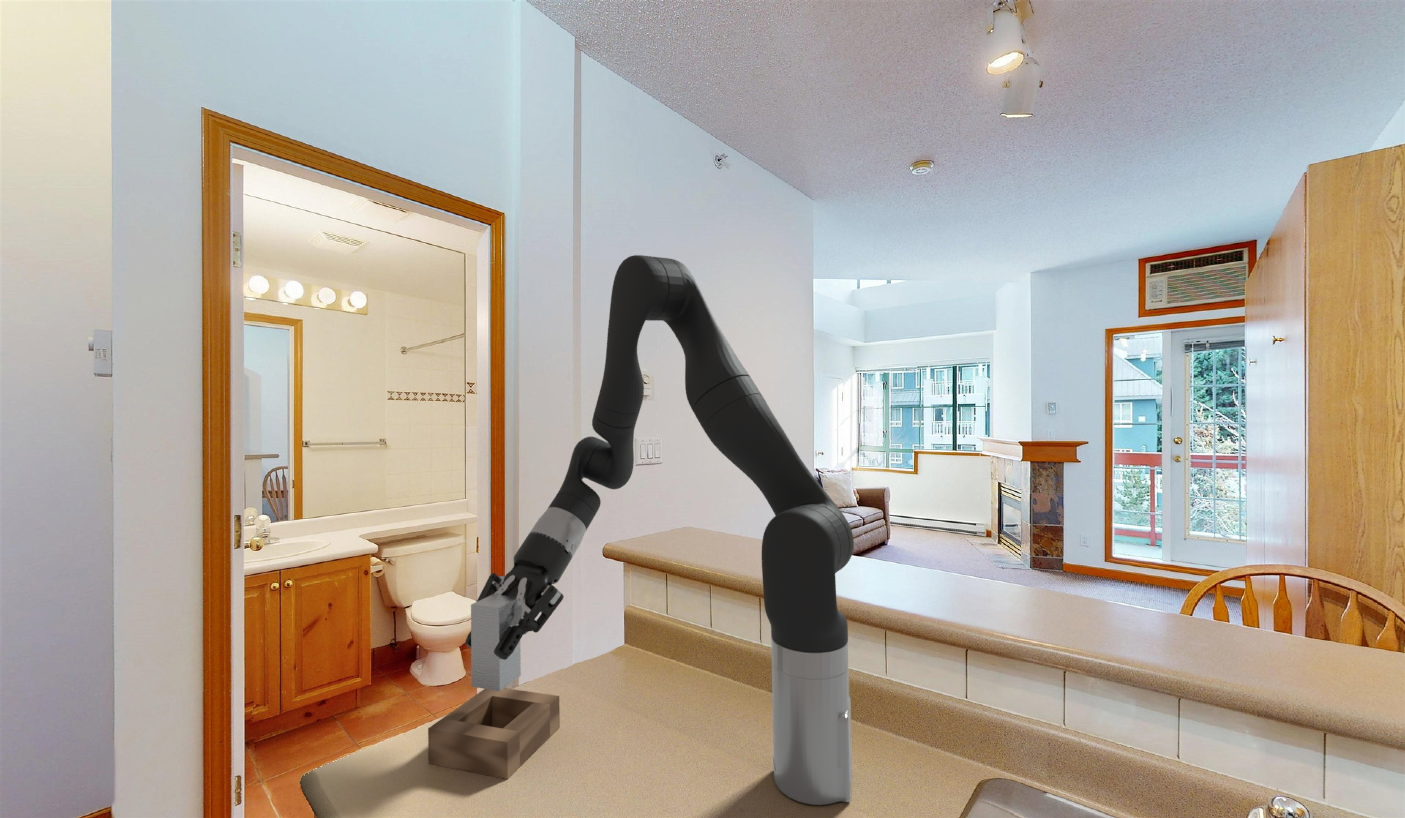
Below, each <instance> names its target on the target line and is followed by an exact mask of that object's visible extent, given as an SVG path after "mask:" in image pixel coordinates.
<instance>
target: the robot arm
mask: <svg viewBox="0 0 1405 818" xmlns="http://www.w3.org/2000/svg"><path fill="white" fill-rule="evenodd" d="M646 321H648V322H649V321H658V322H659V321H661V322H662V321H663V322H665V324H666V325H668V328H670V329H671V331H672V332H673V334H674V335H675V337H676V339H677V341H678V343H679V344H680V346H681V349H682V350H683V354H684V361H685V362H684V363H685V364H684V365H685V366H684V367H685V368H684V369H685V370H684V387H685V395H686V400H687V403H688V404H689V407H690V408H691V410H692V412H693V414H694V415H695V418H696V419H697V422H698V423H699V425H700V426H701V428H702V430H703V431H704V433H705V434H706V436H707V437H708V439H709V441H710V442H711V443H712V444H713V445H714V447H715V448H716V449H717V450H718V451H719V452H720V453H721V454H722V455H724V457H726V458H727V459H728V460H729V461H730V462H731V463H732V464H733V465H734V466H735V467H737V468H738V469H739V471H741V473H742V472H743V474H744V475H746V476H747V478H748V479H750V481H752V482H753V484H754V485H755V486H756V487H757V488H758V489H759V491H760V492H761V493H762V495H763V496H764V498H765V500H766V501H767V503H768V504H769V507H770V509H771V510H772V512H773V514H774V515H775V516H773V517H772V519H770V520H769V522H768V523H767V525H766V527H765V528H764V532H763V536H762V541H761V574H762V588H763V589H762V591H763V602H764V611H765V614H766V617H767V619H768V621H769V624H770V634H771V635H770V637H771V638H770V639H771V641H770V644H771V687H772V688H771V693H772V694H771V695H772V699H771V700H772V743H773V747H772V748H773V750H772V751H773V757H772V762H773V765H772V766H773V779H774V783H775V784H776V786H777V788H778V789H779V791H780V792H781V793H783V794H784V795H785V796H787V798H790V799H792V800H794V801H796V802H799V803H803V804H808V805H814V806H816V805H817V806H823V805H825V806H826V805H830V804H834V803H838V802H843V803H844V802H845V803H850V802H851V797H852V796H851V793H852V792H851V791H852V779H853V758H852V757H853V755H852V751H853V750H852V715H851V713H852V711H851V710H852V708H851V705H852V704H851V695H850V676H849V675H850V673H849V667H850V666H849V630H848V628H849V627H848V626H849V625H848V624H849V623H848V619H847V617H846V615H845V614H844V613H843V612H842V611H841V610H840V609H838V603H837V602H838V601H837V586H836V573H838V572H839V571H841V570H842V569H843V568H844V567H845V566H846V565H848V563H849V561H850V560H851V558H852V555H853V553H854V547H855V543H854V541H855V540H854V536H853V531H852V529H851V528H852V527H851V526H850V523H849V522H848V519H847V518H846V516H845V515H844V513H842V511H841V509H840V508H839V507H838V506H837V504H836V503H835V502H834V501H833V498H831V497H830V495H829V494H828V493H827V492H826V490H825V489H824V488H823V487H822V485H821V484H820V483H819V482H818V480H817V479H816V478H815V477H814V476H813V474H812V472H811V471H810V470H809V469H808V467H807V466H806V464H805V463H804V462H803V460H802V459H801V456H799V454H798V452H797V450H796V449H795V447H794V445H793V444H792V442H791V441H790V439H789V437H788V436H787V433H786V432H785V431H784V429H783V428H782V426H781V424H780V422H779V421H778V419H777V418H776V417H775V415H774V413H773V412H772V410H771V408H770V406H769V404H768V403H767V401H766V399H765V398H764V396H763V395H762V393H761V392H760V389H759V388H758V387H757V384H756V383H755V382H754V380H753V379H752V377H751V376H750V374H749V373H748V371H747V370H746V368H745V367H744V366H743V363H742V362H741V361H740V360H739V357H737V355H736V353H735V351H734V349H733V348H732V346H731V345H730V343H729V341H728V339H727V338H726V336H725V335H724V333H723V332H722V330H721V329H720V326H719V325H718V323H717V322H716V319H715V318H714V316H713V314H712V311H711V309H710V307H709V305H708V303H707V301H706V299H705V296H704V295H703V292H702V291H701V289H700V286H699V284H698V283H697V281H696V279H695V277H694V275H693V274H692V272H691V271H690V270H689V269H688V267H687V266H686V265H685V264H684V263H683V262H680V261H679V260H676V259H675V258H668V257H659V256H658V257H657V256H651V255H642V254H640V255H639V254H635V255H634V254H633V255H630V256H628V257H626V258H625V259H624V260H623V261H621V263H620V264H619V266H618V268H617V270H616V273H615V276H614V279H613V283H612V289H611V296H610V305H609V318H608V324H607V325H608V328H607V337H606V338H607V341H606V348H605V349H606V353H605V363H604V369H603V377H602V379H601V380H602V381H601V386H600V390H599V393H598V397H597V401H596V404H595V408H594V412H593V415H592V422H591V425H592V429H593V431H594V432H595V433H596V434H597V435H598V436H600V437H601V438H599V437H595V436H586V437H584V438H581V439H580V440H579V441H578V442H577V444H576V445H575V446H574V448H573V451H572V454H571V457H570V461H569V465H568V468H567V471H566V475H565V477H564V480H563V482H562V485H561V487H560V488H559V490H558V492H557V494H556V495H555V496H554V498H553V500H552V501H551V502H550V504H549V505H548V507H547V508H546V510H545V512H543V514H541V516H540V517H539V518H538V519H537V521H536V522H535V524H534V525H533V527H532V529H531V530H530V532H528V535H527V536H526V538H525V539H524V540H523V542H522V544H521V545H520V547H519V548H518V549H517V551H516V553H515V554H514V556H513V567H512V568H511V570H510V571H509V572H507V573H506V574H505V575H501V576H499V574H496V572H492V573H491V574H490V575H489V576H488V578H487V580H486V582H485V584H484V586H483V588H482V590H481V592H480V593H479V596H478V597H477V600H476V602H478V601H480V600H482V599H484V598H486V597H488V596H490V595H493V594H495V595H505V596H515V597H517V598H516V602H515V604H514V610H515V614H514V617H513V621H512V627H511V626H509V627H508V628H507V630H506V631H505V633H504V635H503V636H502V638H501V640H500V642H499V643H498V645H497V646H496V648H495V650H494V654H495V655H497V656H498V657H499V658H501V659H504V660H506V659H507V658H508V657H509V656H510V655H511V654H512V653H513V651H514V649H515V648H516V646H517V644H518V643H519V641H520V642H521V639H522V638H523V635H526V634H528V633H529V632H534V633H539V631H540V630H541V629H542V628H543V626H544V625H545V624H546V622H547V621H548V619H550V617H551V616H552V614H553V613H554V612H555V611H556V609H557V608H558V607H559V606H560V604H561V602H562V601H563V600H564V594H563V593H562V592H561V591H560V590H559V589H558V588H557V587H556V586H555V584H557V583H558V582H559V581H560V580H561V577H562V576H563V574H564V573H565V571H566V569H567V567H568V566H569V564H570V562H571V560H572V559H573V557H574V555H575V554H576V552H577V550H578V549H579V547H580V544H581V543H582V541H583V538H584V535H585V534H586V532H587V530H588V528H589V527H590V525H591V523H592V522H593V520H594V518H595V517H596V515H597V514H598V511H599V509H600V507H601V504H602V503H601V497H600V496H599V494H598V493H597V492H596V491H595V490H594V489H593V488H592V487H590V486H589V485H588V484H587V483H585V481H584V480H583V479H587V480H589V481H591V482H594V483H596V484H598V485H600V486H603V487H605V488H607V489H610V490H619V489H621V488H622V487H624V486H626V484H627V483H628V482H629V481H630V479H631V476H632V474H633V471H634V462H635V461H634V459H635V456H634V455H635V453H634V436H635V435H634V434H635V427H636V424H637V421H638V418H639V414H640V412H641V411H640V410H641V408H642V405H643V400H644V392H645V385H644V378H643V373H642V370H641V367H640V366H641V365H640V363H639V357H638V356H639V355H638V345H639V338H640V335H641V333H642V330H643V327H644V324H645V322H646ZM539 614H540V615H539ZM538 615H539V616H538ZM537 617H538V618H537ZM536 618H537V619H536ZM464 644H465V645H466V646H467V647H469V648H470V649H471V630H470V631H469V633H468V634H467V637H466V639H465V641H464Z"/></svg>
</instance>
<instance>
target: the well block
mask: <svg viewBox="0 0 1405 818" xmlns="http://www.w3.org/2000/svg"><path fill="white" fill-rule="evenodd" d="M560 709H561V708H560V695H555V694H549V693H548V694H547V693H542V692H534V691H528V690H519V689H513V688H506V687H505V688H504V689H502V690H501V691H495V690H489V689H483V690H481V691H479V692H478V693H477V694H475V695H474V696H472V697H471V698H470V699H468V700H466V701H465V702H464V703H462V704H461V705H459V706H457V707H456V708H455V709H454V710H452V711H451V712H449V713H448V714H446V715H445V716H444V717H442V718H441V719H439V720H438V721H437V722H435V723H434V724H432V725H430V726H429V727H428V729H427V735H428V736H427V742H428V743H427V744H428V745H427V748H428V749H427V751H428V754H427V755H428V756H427V757H428V759H427V760H428V764H430V765H435V766H439V767H444V768H450V769H453V770H454V769H455V770H459V771H465V772H469V773H475V774H480V775H484V776H490V777H495V778H500V779H505V780H508V779H510V777H512V775H514V774H515V773H516V772H517V771H518V769H520V768H521V766H523V764H525V763H526V761H528V760H529V759H530V758H531V757H532V756H534V754H535V753H536V752H537V751H538V750H539V749H540V748H541V747H542V746H543V745H544V744H545V743H546V742H547V741H548V740H549V739H550V738H551V737H552V736H553V735H554V734H555V733H556V732H557V731H558V730H559V729H560V727H561V725H560V721H561V720H560V719H561V718H560Z"/></svg>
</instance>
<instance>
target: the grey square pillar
mask: <svg viewBox="0 0 1405 818" xmlns="http://www.w3.org/2000/svg"><path fill="white" fill-rule="evenodd" d="M516 598H517V597H515V596H505V595H495V594H493V595H490V596H488V597H486V598H484V599H482V600H480V601H478V602H477V601H476V602H474V603H472V604H470V631H471V648H470V651H471V652H470V653H471V656H470V659H471V661H470V662H471V663H470V664H471V670H470V671H471V673H470V674H471V687H472V688H476V689H477V688H478V689H483V690H484V689H489V690H495V691H501V690H502V689H504V688H506V687H507V686H509V685H511V684H512V683H513V682H515V680H517V679H519V678H520V677H521V676H522V671H521V670H522V669H521V668H522V667H521V664H522V663H521V640H520V641H519V643H518V644H517V646H516V648H515V649H514V651H513V653H512V654H511V655H510V656H509V657H508V658H507V659H506V660H504V659H501V658H499V657H498V656H497V655H495V654H494V650H495V648H496V646H497V645H498V643H499V642H500V640H501V638H502V636H503V635H504V633H505V631H506V630H507V628H508V627H509V626H511V627H512V621H513V617H514V614H515V610H514V604H515V602H516Z"/></svg>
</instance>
